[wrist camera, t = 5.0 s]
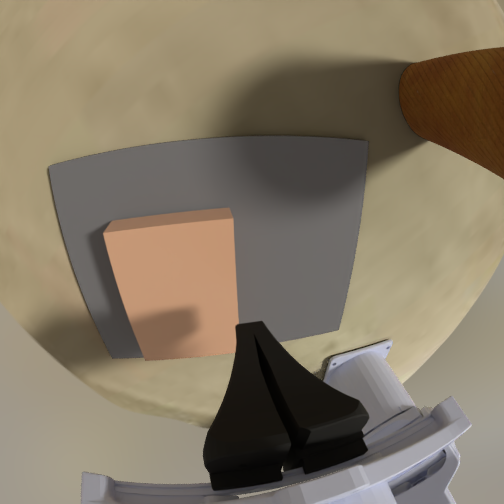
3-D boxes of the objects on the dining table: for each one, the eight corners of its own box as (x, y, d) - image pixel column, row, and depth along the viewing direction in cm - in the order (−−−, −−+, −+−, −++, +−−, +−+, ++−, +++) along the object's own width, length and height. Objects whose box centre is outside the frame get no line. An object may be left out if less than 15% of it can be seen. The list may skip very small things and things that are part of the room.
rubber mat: (336, 327, 23) (338, 330, 23) (112, 355, 20) (112, 358, 20) (365, 140, 16) (368, 141, 15) (51, 165, 12) (48, 166, 12)
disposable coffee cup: (397, 173, 17) (535, 245, 7) (363, 46, 12) (526, 28, 2) (465, 144, 17) (572, 189, 7) (443, 44, 12) (563, 51, 2)
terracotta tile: (240, 351, 19) (145, 360, 17) (236, 332, 20) (147, 340, 19) (233, 218, 14) (103, 233, 13) (228, 205, 16) (113, 219, 15)
